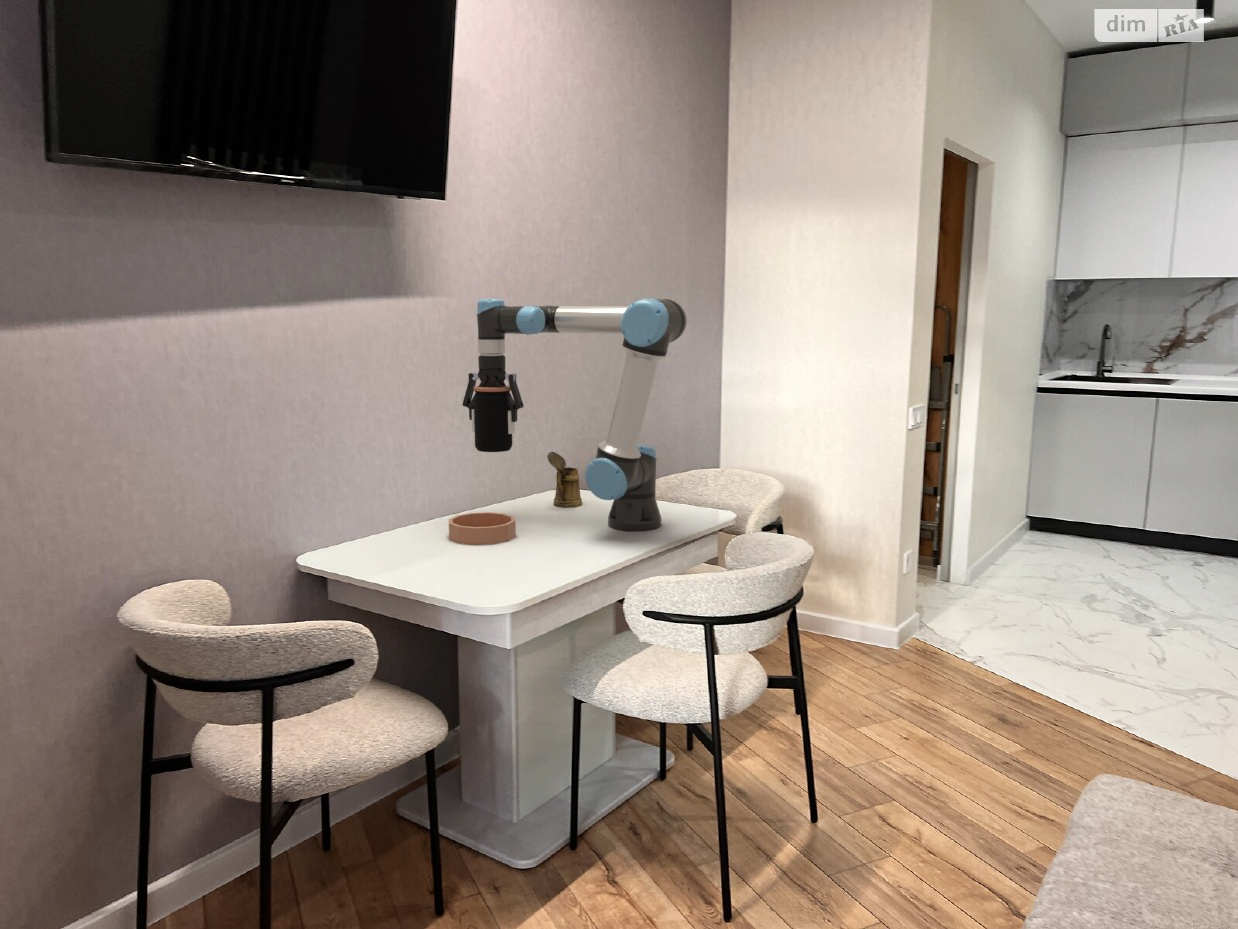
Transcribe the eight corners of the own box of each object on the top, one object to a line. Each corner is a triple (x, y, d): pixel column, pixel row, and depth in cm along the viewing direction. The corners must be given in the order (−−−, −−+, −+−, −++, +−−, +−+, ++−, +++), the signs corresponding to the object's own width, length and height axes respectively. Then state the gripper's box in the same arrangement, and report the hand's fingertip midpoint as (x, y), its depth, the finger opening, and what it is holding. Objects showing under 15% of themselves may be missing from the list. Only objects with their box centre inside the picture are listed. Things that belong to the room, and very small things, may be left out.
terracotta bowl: (525, 531, 258) (525, 515, 257) (497, 547, 242) (497, 530, 241) (468, 526, 264) (467, 510, 263) (437, 541, 247) (436, 524, 246)
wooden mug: (539, 508, 286) (539, 450, 283) (563, 500, 298) (563, 444, 294) (564, 511, 282) (564, 452, 279) (587, 503, 293) (587, 446, 290)
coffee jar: (516, 447, 272) (514, 385, 269) (508, 452, 262) (507, 388, 258) (480, 446, 273) (478, 384, 270) (470, 452, 263) (469, 388, 259)
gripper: (534, 354, 262) (536, 432, 266) (461, 353, 270) (463, 428, 273) (524, 356, 255) (525, 436, 259) (448, 354, 263) (450, 432, 266)
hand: (493, 432), depth 266 cm, fingers closed on coffee jar, 11 cm apart
